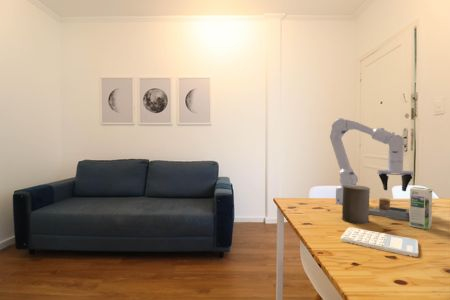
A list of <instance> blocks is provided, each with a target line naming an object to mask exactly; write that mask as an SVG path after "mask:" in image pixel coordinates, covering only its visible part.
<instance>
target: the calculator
mask: <svg viewBox="0 0 450 300" xmlns="http://www.w3.org/2000/svg"><path fill="white" fill-rule="evenodd" d="M340 241H341V242H343V241H345V242H344V243H347V242H350V243H349V244H352V243H354V244H353V245H356V244H358V245H357V246H361V245H362V247H367V248H370V247H371V248H372V249H376V250H380V251H384V252H389V253H393V252H394V253H393V254H398V255H403V256H407V255H409V256H408V257H412V256H414V257H413V258H417V257H419V240H418V239H415V238H410V237H405V236H400V235H396V234H395V235H394V234H389V233H385V232H379V231H372V230H367V229H361V228H356V227H351V226H350V227H347V228H346V230H345V231H344V232H343V234H341V236H340Z"/></svg>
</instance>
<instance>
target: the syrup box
mask: <svg viewBox="0 0 450 300" xmlns="http://www.w3.org/2000/svg"><path fill="white" fill-rule="evenodd" d="M432 210H433V188H427V187H419V186H417V187H416V186H411V187H410V190H409V227H413V228H418V229H424V230H427V231H428V230H430V228H431V227H432V222H433V221H432V219H433V218H432V213H433V211H432Z"/></svg>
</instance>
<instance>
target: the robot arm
mask: <svg viewBox="0 0 450 300" xmlns="http://www.w3.org/2000/svg"><path fill="white" fill-rule="evenodd" d="M349 130H353V131H354V130H357V131H359V132H362V133H364V134H368V135H370V136H371V138H372V139H373V140H374V141H378V142H380V143H383V144H384V145H388V146H389V147H388V154H387V155H388V158H387V159H388V161H387V163H388V164H387V169H377V170H376V174H377V175H378V177H379V179H380V180H381V183H382V186H383V190H384V191H388V181H389V175H392V176H395V175H396V176H401V191H402V192H407V188H408V185H409V184H410V182H411V180H413V176H415V171H414V170H404V145H405V138H404V137H403V136H401V135H399V134H396V133H395V132H391V131H388V130H385V128H383V127H381V128H380V127H376V128H372V127H370V126H367V125H365V124H363V123H361V122H358V121H354V120H351V119H350V120H349V119H344V118H336V119H335V120H334V121H333V123H332V124H331V131H330V134H329V139H330V143H331V145H332V148H333V152H334V155H335V157H336V161H337V164H338V168H339V176H340V177H339V183H340V185H337V186H336V188H335V204H337V205H338V204H341V205H342V203H343V186H344V185H357V183H358V181H359V178H358V176H357V174H356V173H355V172H354V169H352V167H351V164H350V162H349V158H348V156H347V153H346V152H347V151H346V149H345V146H344V143H343V141H342V137H344V135H345V134H346V133H347V132H348V131H349ZM355 183H356V184H355Z"/></svg>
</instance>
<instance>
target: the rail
mask: <svg viewBox="0 0 450 300" xmlns="http://www.w3.org/2000/svg"><path fill="white" fill-rule="evenodd" d="M369 215H372V216H379V217H386V218H387V219H395V220H398V221H399V220H400V221H405V222H406V221H407V222H410V208H404V207H395V206H390V207H388V210H379V209H375V208H373V207H372V208H370V207H369Z"/></svg>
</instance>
